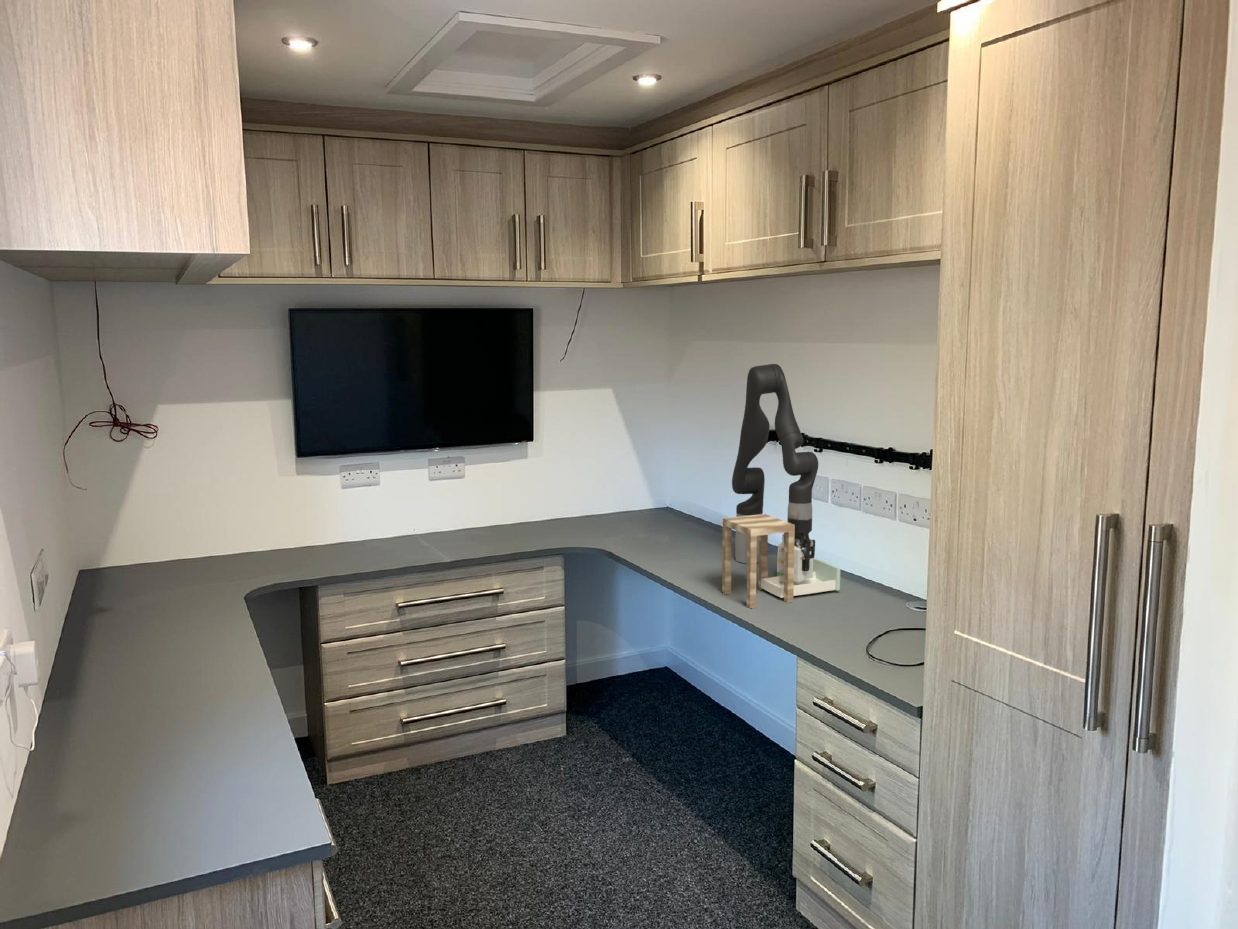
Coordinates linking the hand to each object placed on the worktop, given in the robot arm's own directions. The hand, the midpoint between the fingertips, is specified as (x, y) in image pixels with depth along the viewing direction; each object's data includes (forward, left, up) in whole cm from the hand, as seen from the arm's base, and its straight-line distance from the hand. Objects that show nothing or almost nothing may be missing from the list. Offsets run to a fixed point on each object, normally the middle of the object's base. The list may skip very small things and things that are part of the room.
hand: (798, 567), depth 291 cm
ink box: (-12, +5, -8) cm, 15 cm away
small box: (0, 0, -4) cm, 4 cm away
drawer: (0, 0, -7) cm, 7 cm away
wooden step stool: (0, -15, -8) cm, 17 cm away
